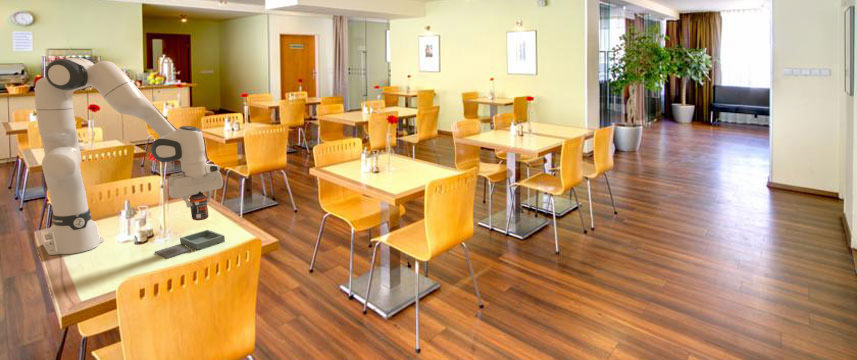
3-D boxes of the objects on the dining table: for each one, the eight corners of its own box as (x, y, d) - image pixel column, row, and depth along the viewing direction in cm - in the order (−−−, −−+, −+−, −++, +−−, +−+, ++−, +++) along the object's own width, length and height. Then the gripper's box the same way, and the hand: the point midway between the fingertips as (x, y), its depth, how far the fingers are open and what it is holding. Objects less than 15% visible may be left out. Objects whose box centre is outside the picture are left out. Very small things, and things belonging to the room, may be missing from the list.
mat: (154, 253, 196) (154, 251, 195) (178, 245, 203) (178, 244, 202) (167, 258, 190) (167, 257, 190) (191, 251, 197) (191, 249, 197)
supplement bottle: (202, 221, 200) (198, 192, 197) (188, 220, 201) (184, 192, 198) (212, 216, 206) (208, 188, 203) (198, 215, 207) (194, 187, 204)
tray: (180, 243, 205) (179, 237, 204) (208, 235, 214) (207, 229, 213) (197, 250, 198) (196, 244, 197) (224, 241, 207) (224, 235, 207)
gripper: (172, 175, 189) (177, 212, 192) (223, 165, 205) (226, 199, 208) (163, 173, 192) (167, 209, 196) (214, 163, 208) (217, 197, 212)
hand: (198, 204), depth 202 cm, fingers closed on supplement bottle, 6 cm apart
